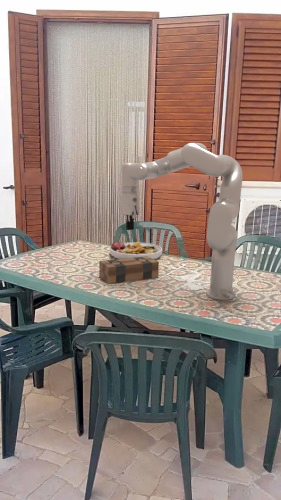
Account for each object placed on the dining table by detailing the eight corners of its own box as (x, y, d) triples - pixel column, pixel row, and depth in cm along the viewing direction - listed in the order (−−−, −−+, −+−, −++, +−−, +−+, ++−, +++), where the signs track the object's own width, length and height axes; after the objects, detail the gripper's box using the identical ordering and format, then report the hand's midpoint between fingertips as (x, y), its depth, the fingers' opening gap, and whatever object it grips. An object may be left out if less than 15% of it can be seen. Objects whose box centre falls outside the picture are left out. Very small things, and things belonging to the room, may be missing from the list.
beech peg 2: (147, 275, 221) (147, 260, 219) (139, 276, 220) (140, 261, 218) (143, 273, 225) (144, 258, 223) (136, 274, 223) (136, 259, 221)
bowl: (163, 251, 273) (163, 238, 271) (160, 264, 244) (161, 250, 242) (114, 249, 275) (114, 236, 274) (105, 262, 246) (105, 248, 245)
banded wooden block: (158, 277, 220) (158, 261, 218) (108, 284, 208) (108, 267, 206) (147, 271, 230) (147, 256, 228) (99, 276, 219) (99, 260, 217)
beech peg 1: (121, 278, 215) (121, 263, 213) (113, 279, 213) (113, 264, 212) (117, 276, 219) (117, 261, 217) (110, 277, 217) (110, 261, 215)
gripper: (144, 191, 202) (144, 231, 206) (130, 188, 215) (130, 226, 219) (129, 192, 198) (129, 233, 203) (115, 188, 211) (116, 227, 216)
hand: (130, 229), depth 211 cm, fingers closed
